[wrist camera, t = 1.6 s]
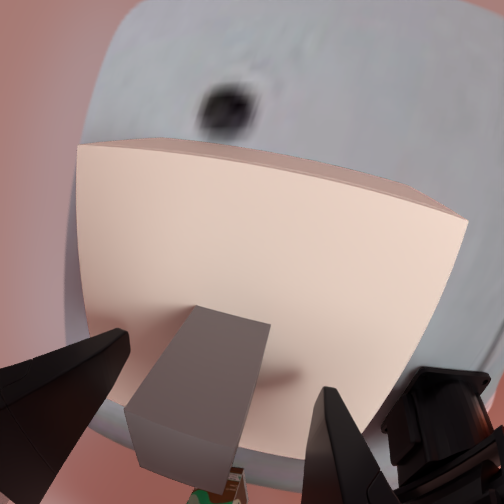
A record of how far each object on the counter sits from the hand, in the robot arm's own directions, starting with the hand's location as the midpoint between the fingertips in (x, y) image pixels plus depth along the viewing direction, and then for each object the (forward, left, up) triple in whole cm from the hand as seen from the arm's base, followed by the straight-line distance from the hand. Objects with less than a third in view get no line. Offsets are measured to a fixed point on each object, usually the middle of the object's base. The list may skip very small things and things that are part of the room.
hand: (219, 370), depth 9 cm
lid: (0, 0, -1) cm, 1 cm away
